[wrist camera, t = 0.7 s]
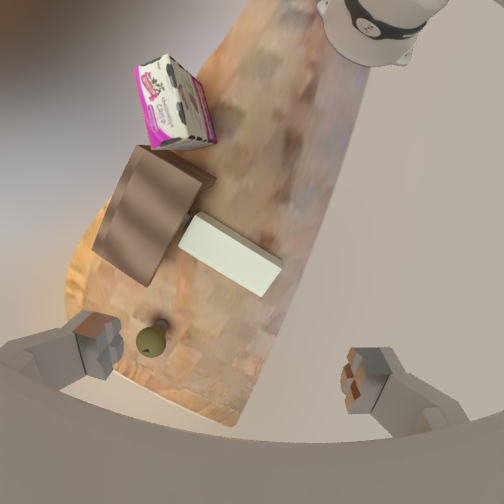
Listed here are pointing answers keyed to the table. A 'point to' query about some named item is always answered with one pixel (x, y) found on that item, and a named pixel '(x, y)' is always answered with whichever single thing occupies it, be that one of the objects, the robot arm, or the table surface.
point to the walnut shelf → (148, 211)
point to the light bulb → (152, 339)
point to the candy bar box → (173, 106)
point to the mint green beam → (230, 253)
